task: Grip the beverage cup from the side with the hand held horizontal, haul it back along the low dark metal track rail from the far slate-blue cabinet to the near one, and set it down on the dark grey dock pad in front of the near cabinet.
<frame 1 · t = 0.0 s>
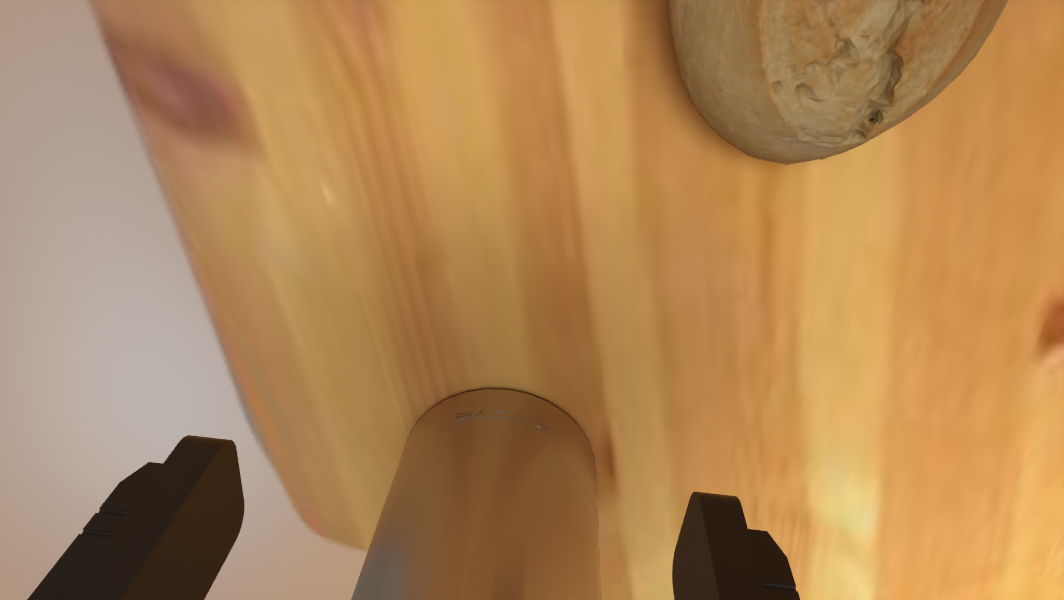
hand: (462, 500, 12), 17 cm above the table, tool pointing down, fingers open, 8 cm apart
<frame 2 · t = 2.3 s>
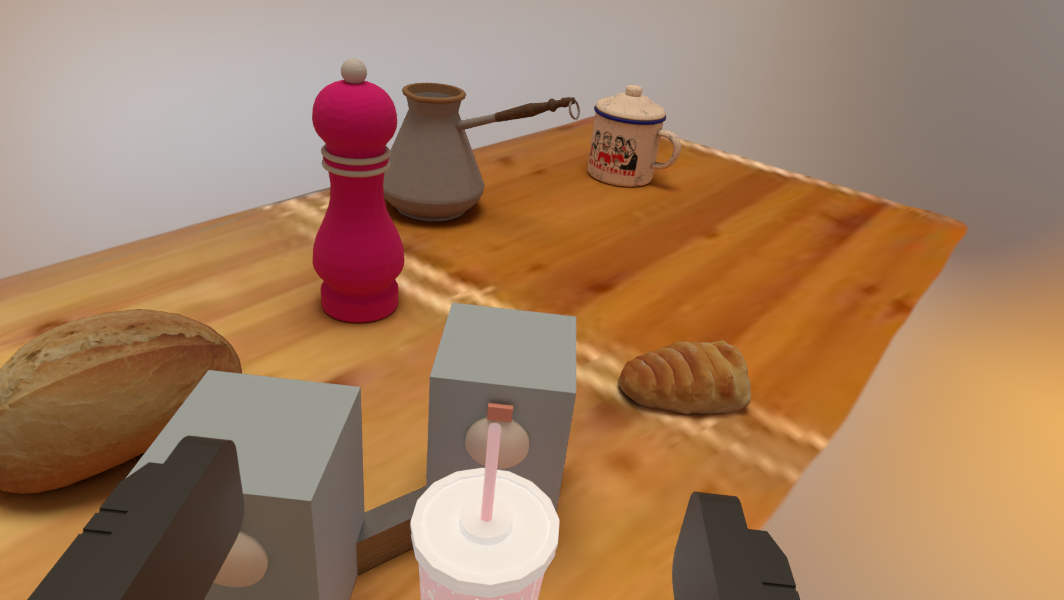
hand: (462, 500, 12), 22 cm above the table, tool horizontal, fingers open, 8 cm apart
track rail: (395, 543, 38), on the table
coffee pot: (470, 219, 77), on the table
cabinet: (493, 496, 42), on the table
teacup with lid: (628, 180, 92), on the table
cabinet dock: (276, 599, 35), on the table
pepper mill: (360, 305, 59), on the table
bread roll: (130, 440, 43), on the table
pastry: (686, 395, 53), on the table
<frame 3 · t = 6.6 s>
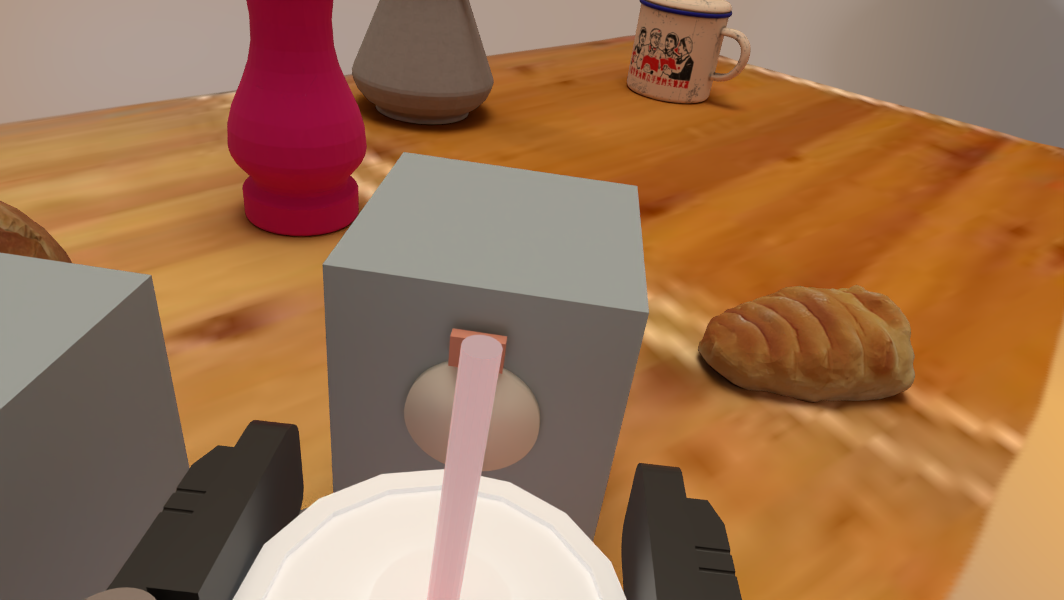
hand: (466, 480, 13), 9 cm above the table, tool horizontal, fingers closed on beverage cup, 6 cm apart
coffee pot: (473, 126, 58), on the table
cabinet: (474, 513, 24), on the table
teacup with lid: (679, 97, 73), on the table
pepper mill: (303, 215, 41), on the table
pastry: (802, 371, 34), on the table
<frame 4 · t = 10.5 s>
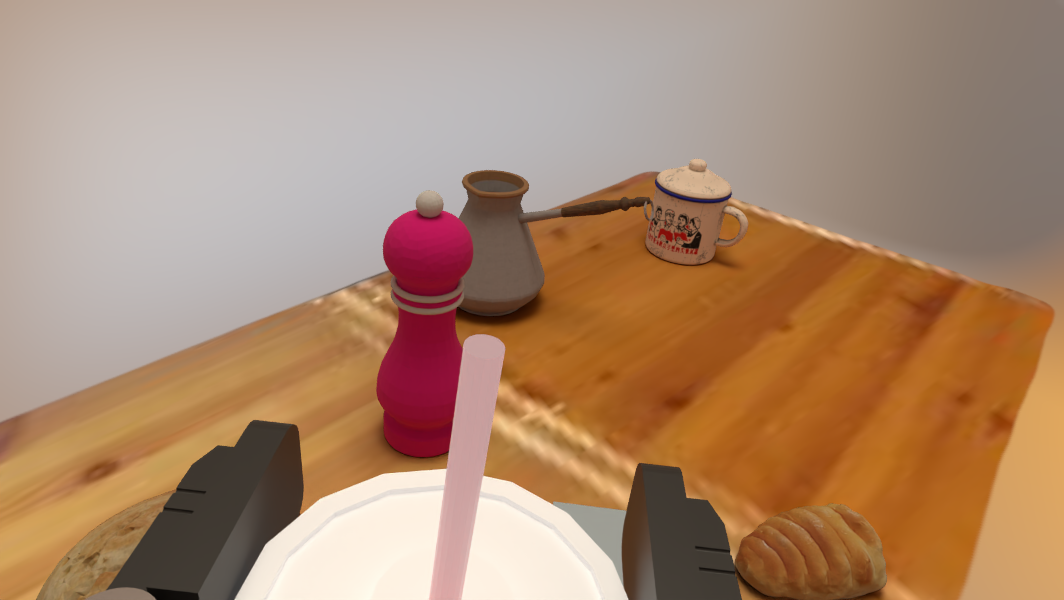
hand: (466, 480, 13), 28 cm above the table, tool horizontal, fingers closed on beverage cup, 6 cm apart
coffee pot: (529, 312, 72), on the table
teacup with lid: (689, 255, 88), on the table
pepper mill: (424, 432, 55), on the table
pastry: (807, 571, 47), on the table
when the fingers open (10 cm above the table, at t = 14.5 s): beverage cup stays where it is, resting on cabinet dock.
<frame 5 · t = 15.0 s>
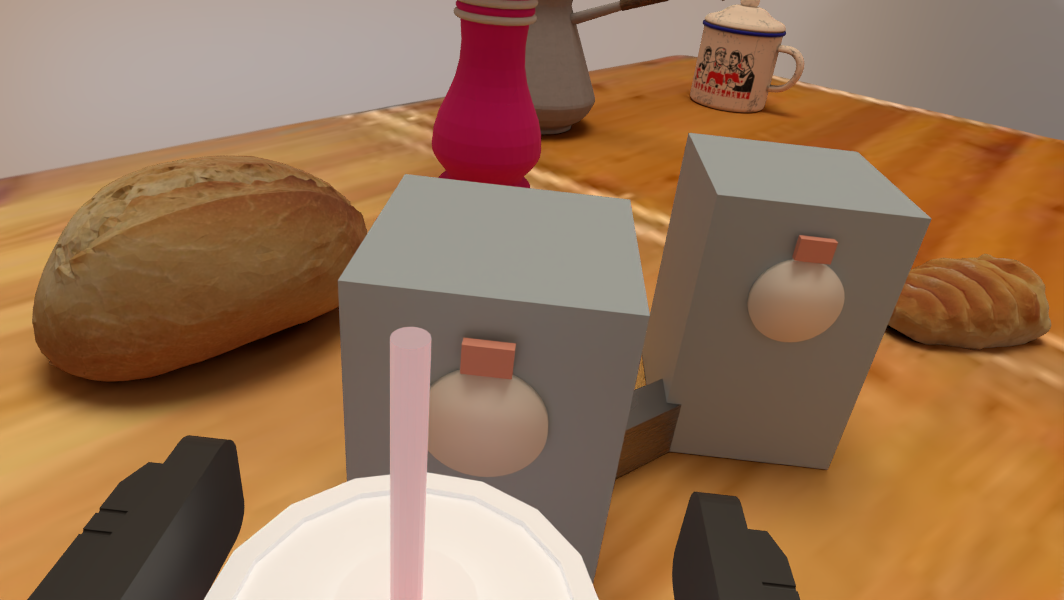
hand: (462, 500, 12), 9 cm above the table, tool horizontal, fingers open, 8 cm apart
track rail: (619, 457, 28), on the table
coffee pot: (578, 135, 66), on the table
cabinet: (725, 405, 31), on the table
teacup with lid: (737, 107, 82), on the table
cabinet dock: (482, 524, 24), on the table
pepper mill: (482, 207, 49), on the table
bread roll: (234, 331, 33), on the table
pastry: (952, 328, 41), on the table
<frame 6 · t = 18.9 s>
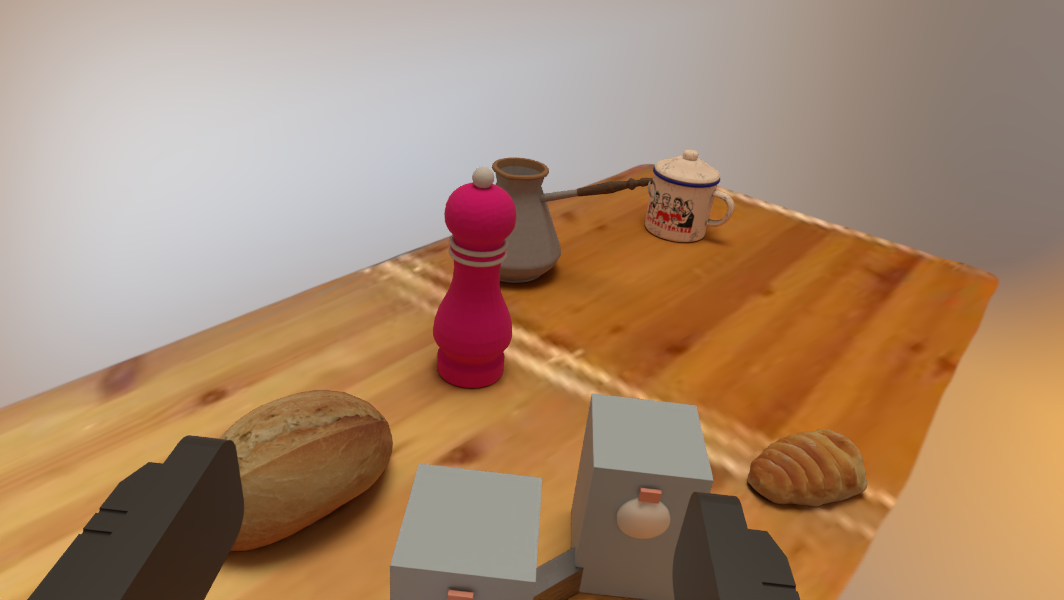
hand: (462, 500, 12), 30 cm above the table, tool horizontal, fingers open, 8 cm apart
track rail: (547, 597, 46), on the table
coffee pot: (548, 280, 84), on the table
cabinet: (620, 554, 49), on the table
teacup with lid: (683, 234, 100), on the table
pepper mill: (470, 370, 67), on the table
bread roll: (305, 500, 51), on the table
pastry: (803, 484, 58), on the table
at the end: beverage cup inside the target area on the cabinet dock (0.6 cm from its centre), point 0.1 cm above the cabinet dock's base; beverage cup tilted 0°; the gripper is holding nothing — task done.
